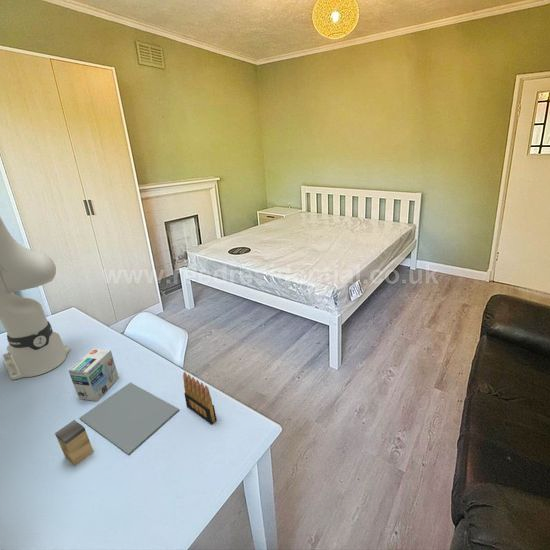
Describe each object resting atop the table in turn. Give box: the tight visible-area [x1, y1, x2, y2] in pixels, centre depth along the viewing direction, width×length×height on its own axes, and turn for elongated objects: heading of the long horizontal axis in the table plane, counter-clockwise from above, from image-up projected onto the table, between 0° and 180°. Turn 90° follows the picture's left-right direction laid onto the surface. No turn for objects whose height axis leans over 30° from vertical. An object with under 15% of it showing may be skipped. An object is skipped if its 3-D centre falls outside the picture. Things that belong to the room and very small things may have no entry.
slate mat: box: [79, 381, 180, 456], centre depth 90 cm, size 22×16×1 cm
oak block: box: [54, 419, 94, 467], centre depth 78 cm, size 4×4×8 cm
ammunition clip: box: [182, 371, 217, 425], centre depth 87 cm, size 11×2×12 cm, turn 51°
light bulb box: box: [67, 348, 120, 402], centre depth 99 cm, size 11×7×11 cm, turn 168°
